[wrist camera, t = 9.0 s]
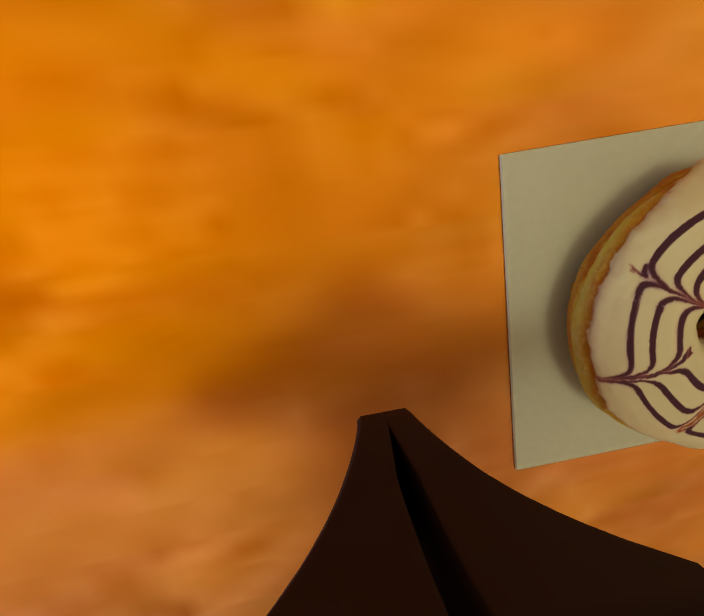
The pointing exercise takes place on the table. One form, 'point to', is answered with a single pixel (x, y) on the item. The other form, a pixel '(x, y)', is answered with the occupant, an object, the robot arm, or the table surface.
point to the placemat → (569, 275)
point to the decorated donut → (646, 314)
